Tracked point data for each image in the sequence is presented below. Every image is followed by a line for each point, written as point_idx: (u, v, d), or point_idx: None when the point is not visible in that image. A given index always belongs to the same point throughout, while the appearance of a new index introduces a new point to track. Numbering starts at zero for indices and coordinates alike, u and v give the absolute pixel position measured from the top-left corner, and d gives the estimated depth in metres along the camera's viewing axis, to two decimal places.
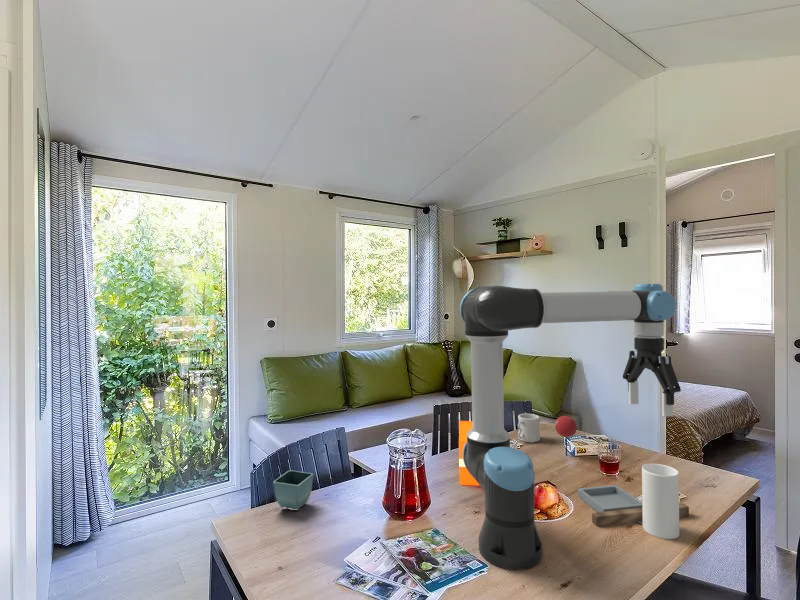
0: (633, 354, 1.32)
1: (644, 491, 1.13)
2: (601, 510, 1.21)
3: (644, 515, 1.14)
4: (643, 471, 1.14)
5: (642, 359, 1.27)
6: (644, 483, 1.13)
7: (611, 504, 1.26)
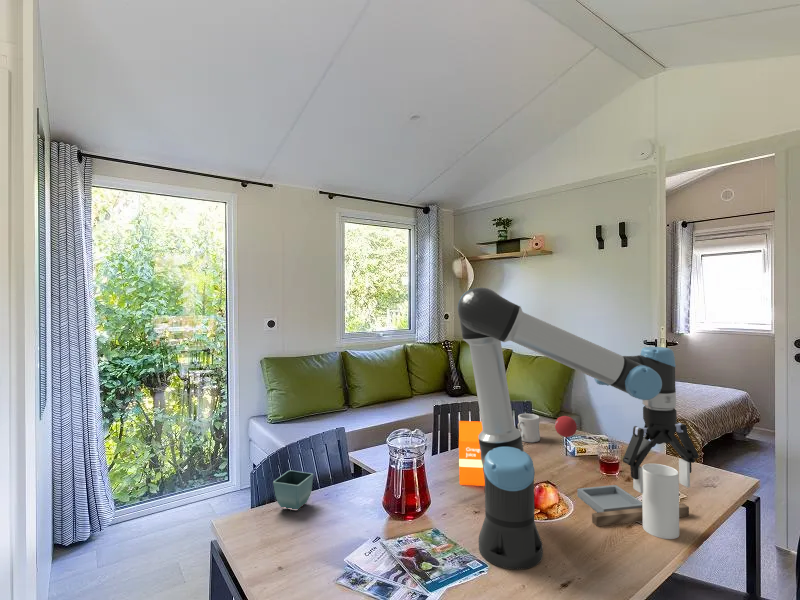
0: None
1: (644, 491, 1.13)
2: (601, 510, 1.21)
3: (644, 515, 1.14)
4: (643, 471, 1.14)
5: None
6: (644, 483, 1.13)
7: (611, 504, 1.26)
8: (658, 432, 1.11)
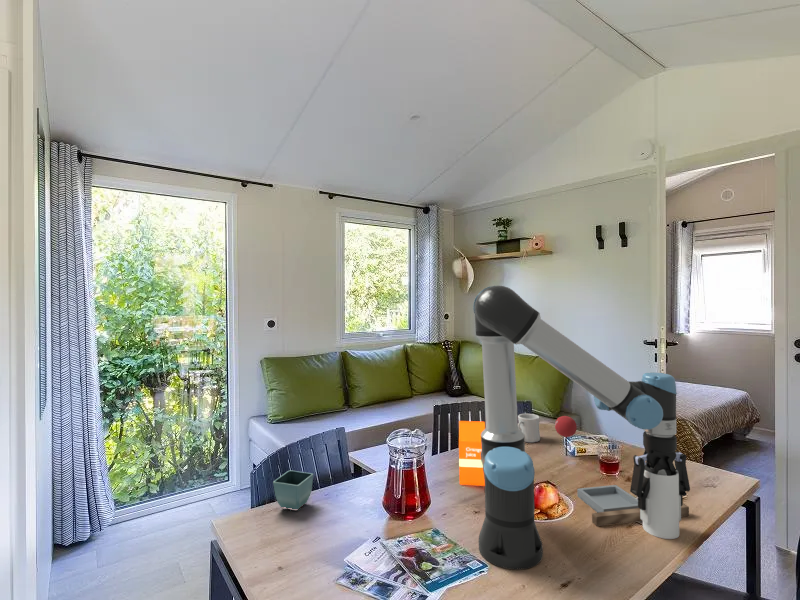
0: None
1: None
2: (601, 510, 1.21)
3: None
4: None
5: None
6: None
7: (611, 504, 1.26)
8: (657, 459, 1.12)
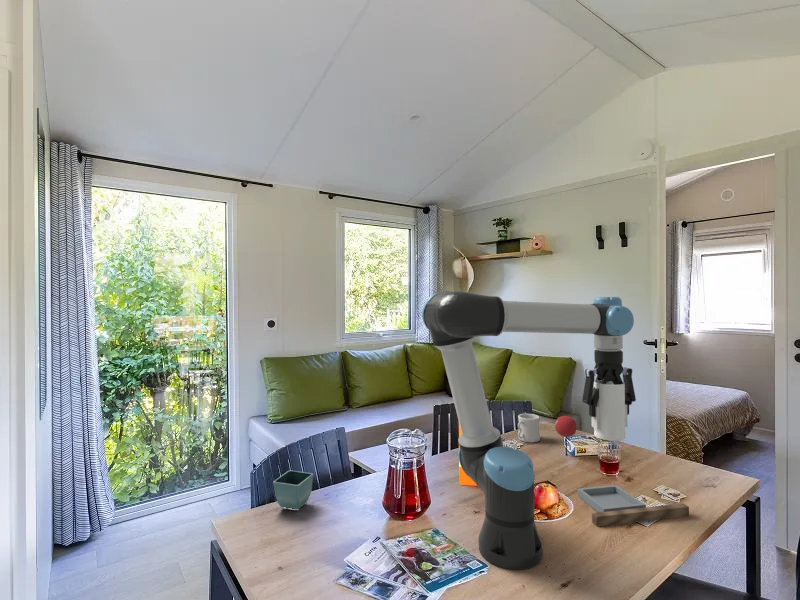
0: None
1: None
2: (601, 510, 1.21)
3: None
4: (594, 383, 1.28)
5: None
6: None
7: (611, 504, 1.26)
8: (606, 371, 1.25)
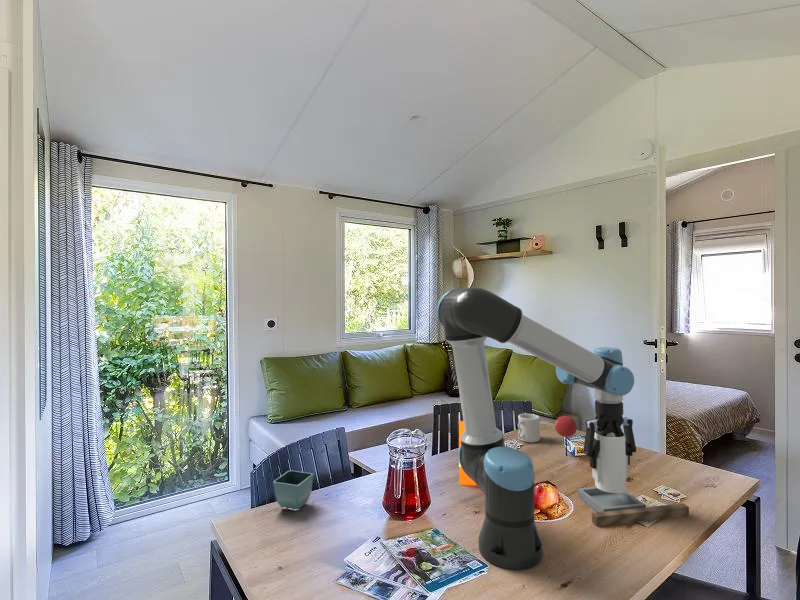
0: None
1: None
2: (601, 510, 1.21)
3: None
4: None
5: None
6: None
7: (611, 504, 1.26)
8: (606, 423, 1.26)
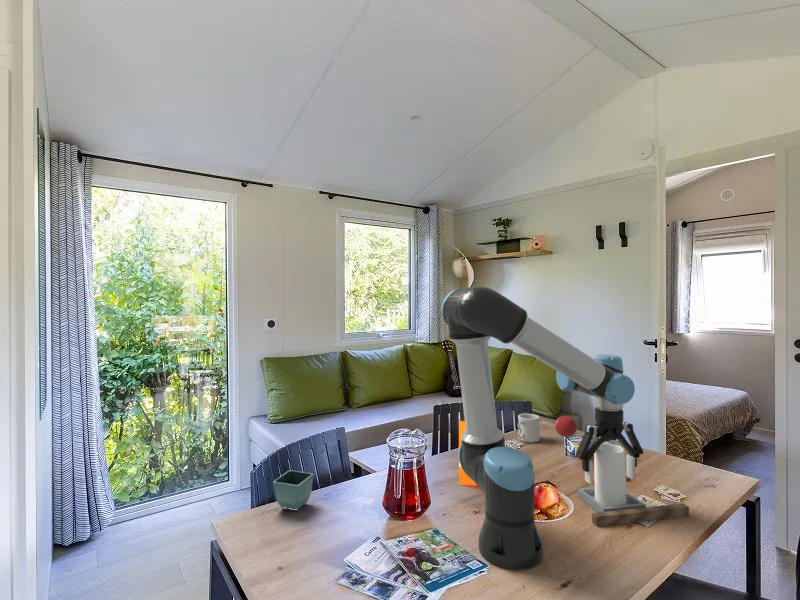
0: None
1: (595, 467, 1.28)
2: (601, 510, 1.21)
3: (595, 489, 1.28)
4: None
5: None
6: (595, 460, 1.27)
7: None
8: (607, 430, 1.26)
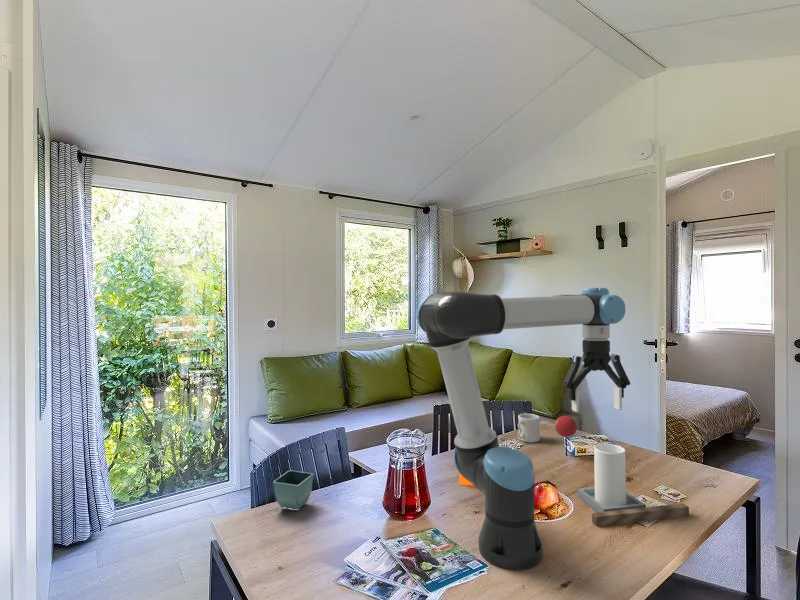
0: None
1: (595, 467, 1.28)
2: (601, 510, 1.21)
3: (595, 489, 1.28)
4: (595, 450, 1.28)
5: None
6: (595, 460, 1.27)
7: None
8: (593, 360, 1.28)
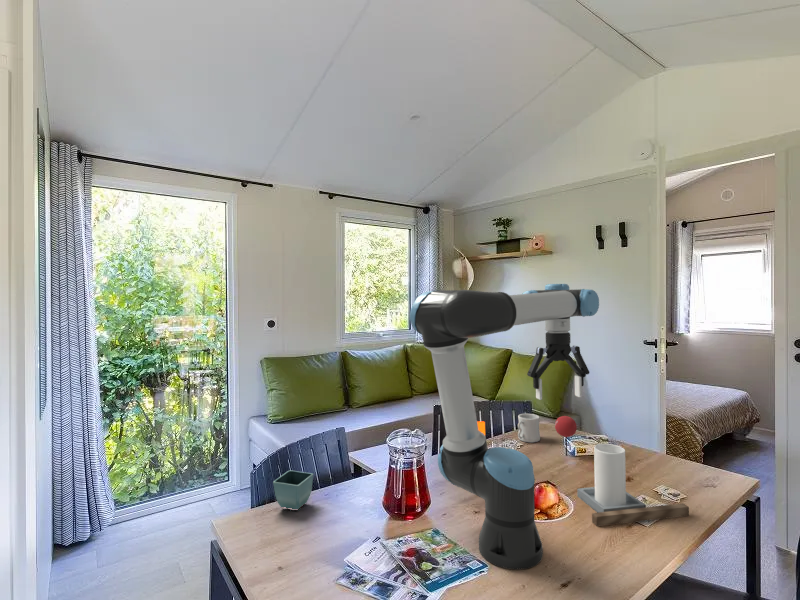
0: None
1: (595, 467, 1.28)
2: (601, 510, 1.21)
3: (595, 489, 1.28)
4: (595, 450, 1.28)
5: None
6: (595, 460, 1.27)
7: None
8: (555, 351, 1.38)
